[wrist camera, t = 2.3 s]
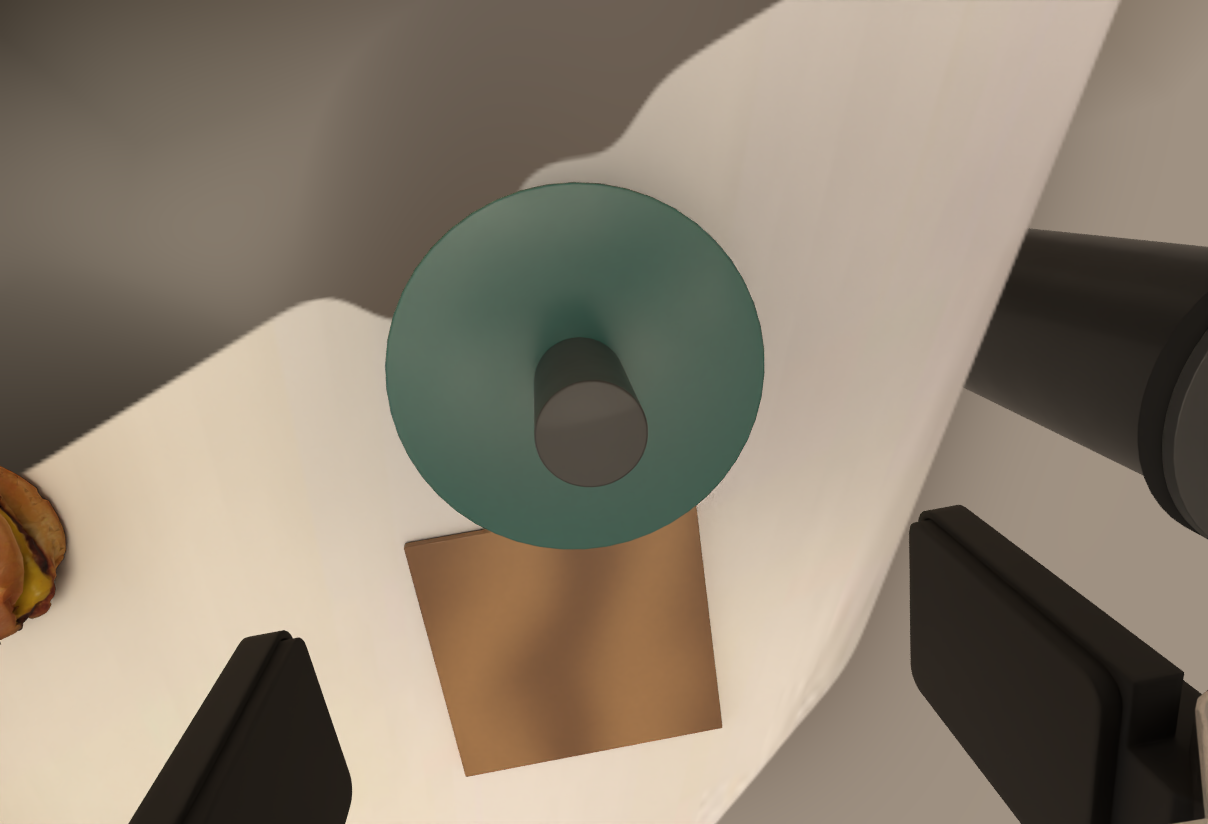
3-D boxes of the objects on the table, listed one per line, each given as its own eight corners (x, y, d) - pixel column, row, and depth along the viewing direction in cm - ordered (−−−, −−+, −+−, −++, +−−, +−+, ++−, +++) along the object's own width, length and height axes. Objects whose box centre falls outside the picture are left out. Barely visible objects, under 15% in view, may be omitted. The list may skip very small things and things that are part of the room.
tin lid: (739, 153, 25) (812, 145, 18) (768, 503, 29) (835, 597, 22) (348, 215, 24) (280, 229, 18) (437, 562, 28) (409, 675, 22)
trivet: (693, 491, 37) (695, 495, 37) (720, 721, 42) (722, 728, 41) (405, 542, 37) (403, 547, 36) (466, 770, 41) (465, 777, 41)
